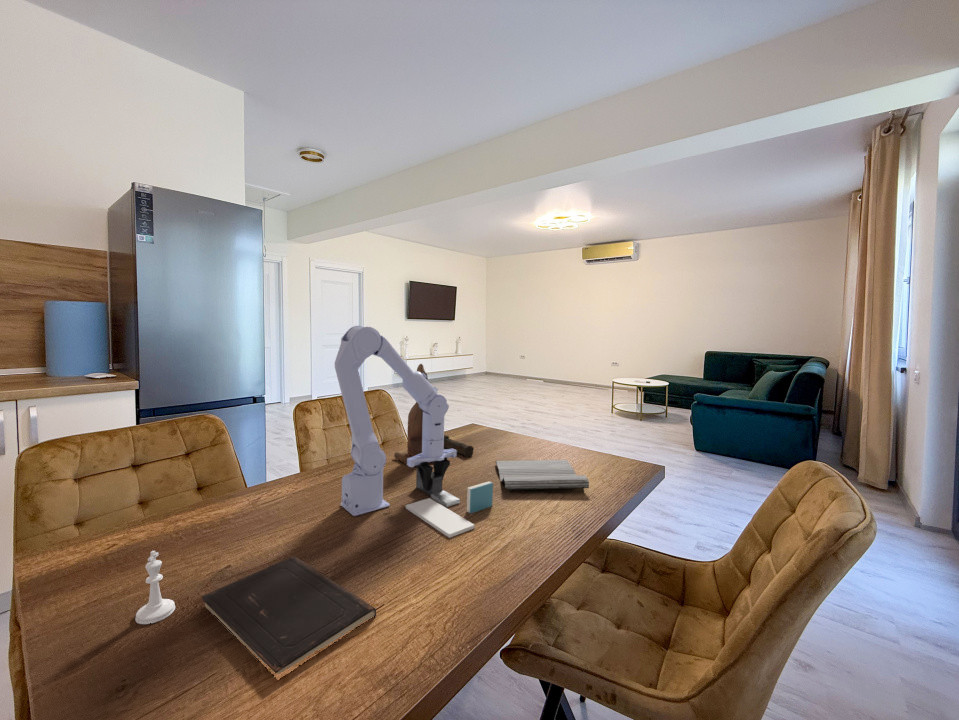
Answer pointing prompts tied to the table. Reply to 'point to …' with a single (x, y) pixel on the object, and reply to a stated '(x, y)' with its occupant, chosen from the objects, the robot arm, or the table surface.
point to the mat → (540, 475)
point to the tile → (479, 497)
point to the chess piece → (154, 596)
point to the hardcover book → (287, 612)
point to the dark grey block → (437, 490)
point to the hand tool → (458, 447)
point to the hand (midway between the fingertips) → (432, 487)
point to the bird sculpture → (413, 430)
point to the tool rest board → (440, 517)
